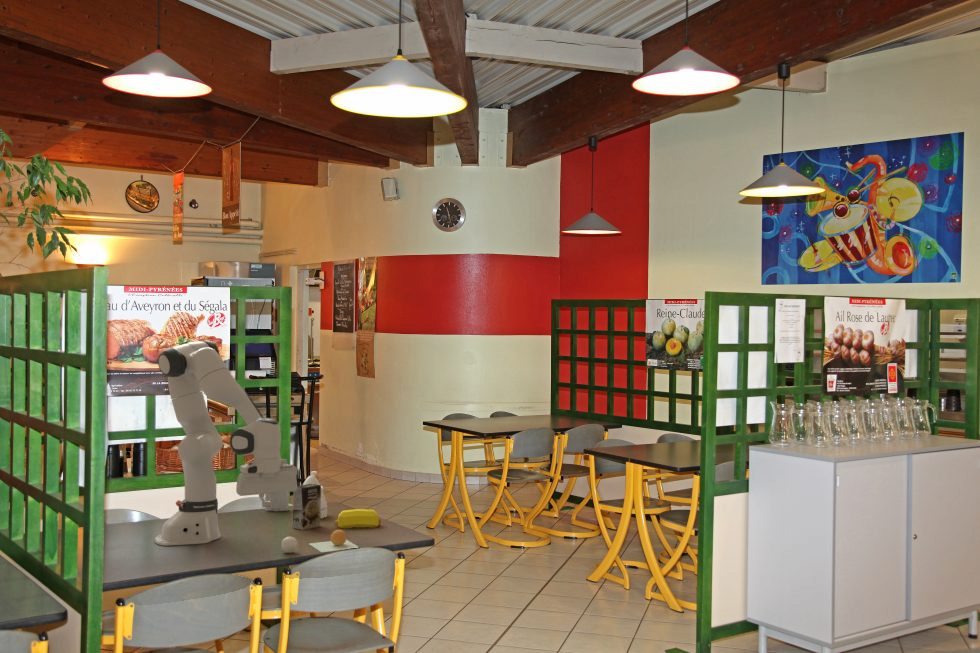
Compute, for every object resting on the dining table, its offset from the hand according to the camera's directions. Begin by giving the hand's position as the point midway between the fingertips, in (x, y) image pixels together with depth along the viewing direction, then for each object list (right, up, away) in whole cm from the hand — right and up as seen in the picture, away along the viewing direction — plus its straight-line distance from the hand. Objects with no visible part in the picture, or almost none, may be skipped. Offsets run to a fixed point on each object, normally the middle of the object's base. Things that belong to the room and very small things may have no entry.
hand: (267, 506), depth 305 cm
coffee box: (+5, -17, +42) cm, 45 cm away
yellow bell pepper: (+25, -17, +44) cm, 53 cm away
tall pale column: (-14, -17, +74) cm, 77 cm away
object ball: (+22, -14, +13) cm, 29 cm away
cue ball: (+7, -13, +2) cm, 15 cm away
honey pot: (+3, -17, +62) cm, 65 cm away
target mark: (+21, -16, +12) cm, 29 cm away
